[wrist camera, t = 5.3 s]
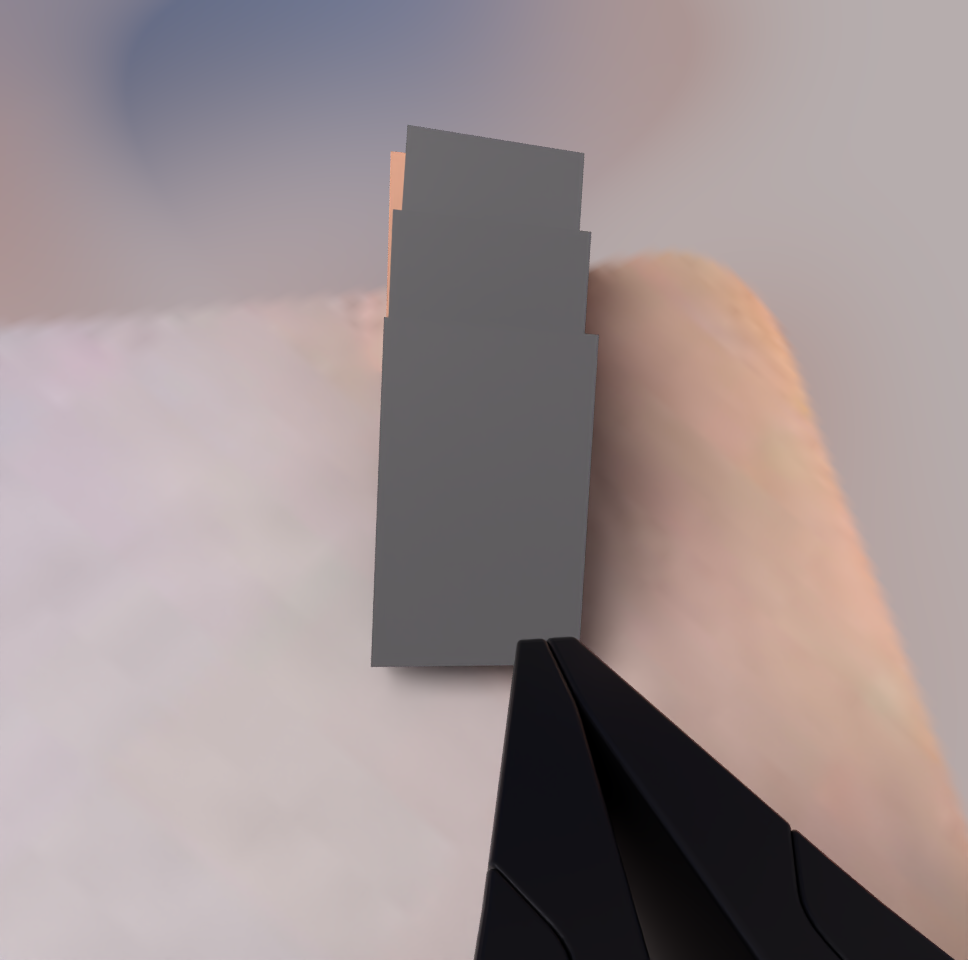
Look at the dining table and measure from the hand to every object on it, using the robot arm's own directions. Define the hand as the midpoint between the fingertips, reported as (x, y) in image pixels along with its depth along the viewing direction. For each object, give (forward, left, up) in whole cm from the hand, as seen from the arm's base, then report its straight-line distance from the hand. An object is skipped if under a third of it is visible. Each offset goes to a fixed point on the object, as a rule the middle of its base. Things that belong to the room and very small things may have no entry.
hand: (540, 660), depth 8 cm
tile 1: (0, 0, -6) cm, 6 cm away
